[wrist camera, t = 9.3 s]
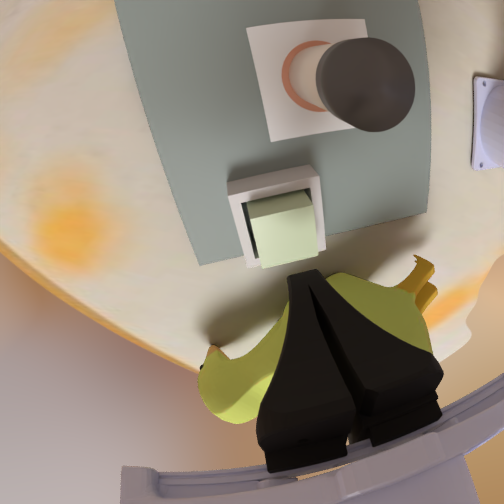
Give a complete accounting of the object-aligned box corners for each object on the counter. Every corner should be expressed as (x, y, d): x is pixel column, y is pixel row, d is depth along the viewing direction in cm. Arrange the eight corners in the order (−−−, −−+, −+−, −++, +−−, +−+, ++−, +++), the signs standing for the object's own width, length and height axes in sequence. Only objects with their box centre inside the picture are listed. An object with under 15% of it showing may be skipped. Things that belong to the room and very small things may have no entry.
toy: (336, 207, 27) (172, 348, 26) (494, 285, 13) (241, 514, 12) (356, 251, 31) (212, 376, 29) (485, 332, 17) (287, 513, 15)
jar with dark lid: (345, 43, 13) (410, 39, 8) (353, 103, 15) (416, 128, 10) (281, 47, 13) (319, 38, 8) (292, 110, 16) (333, 137, 10)
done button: (301, 186, 18) (313, 204, 15) (307, 233, 20) (318, 255, 17) (245, 198, 18) (249, 219, 16) (256, 245, 20) (262, 269, 18)
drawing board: (390, -76, 8) (409, -86, 6) (423, 209, 21) (440, 225, 19) (106, -49, 8) (91, -61, 6) (199, 261, 22) (198, 284, 20)
